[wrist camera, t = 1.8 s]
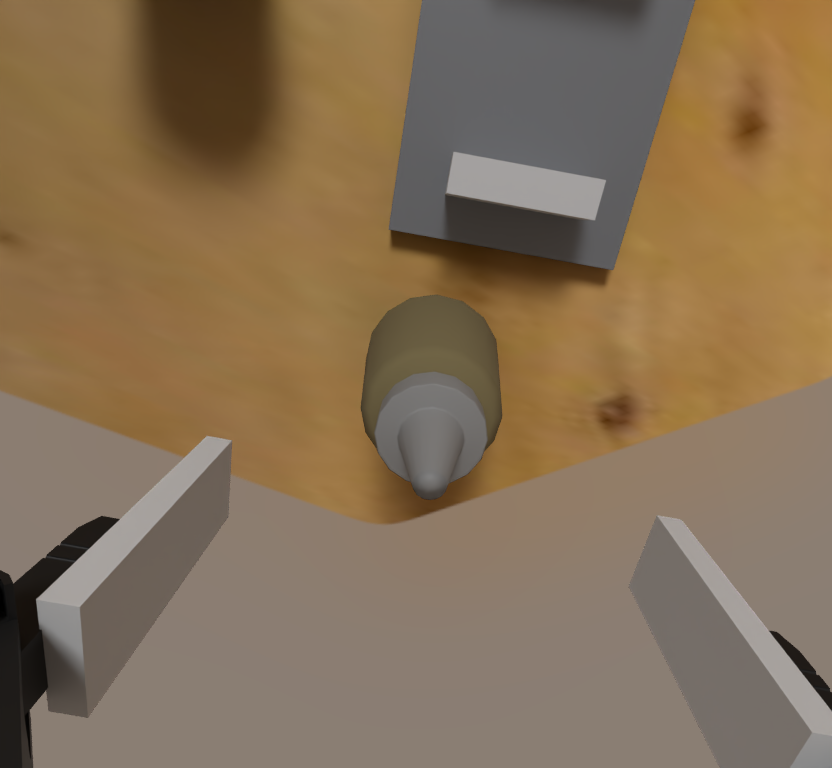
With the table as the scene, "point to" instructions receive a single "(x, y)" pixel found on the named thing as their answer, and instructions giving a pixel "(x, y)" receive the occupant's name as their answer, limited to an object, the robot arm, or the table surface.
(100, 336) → the table surface
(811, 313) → the table surface
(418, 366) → the squeeze bottle
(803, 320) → the table surface
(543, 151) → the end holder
